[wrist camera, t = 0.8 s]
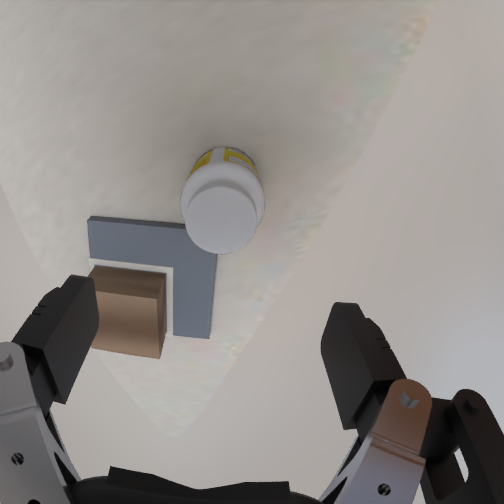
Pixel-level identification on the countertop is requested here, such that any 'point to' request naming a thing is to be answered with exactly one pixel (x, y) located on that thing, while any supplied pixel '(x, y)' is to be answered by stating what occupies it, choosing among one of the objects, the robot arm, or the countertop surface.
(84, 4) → the countertop surface
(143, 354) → the walnut block
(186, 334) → the mat
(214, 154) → the supplement bottle
